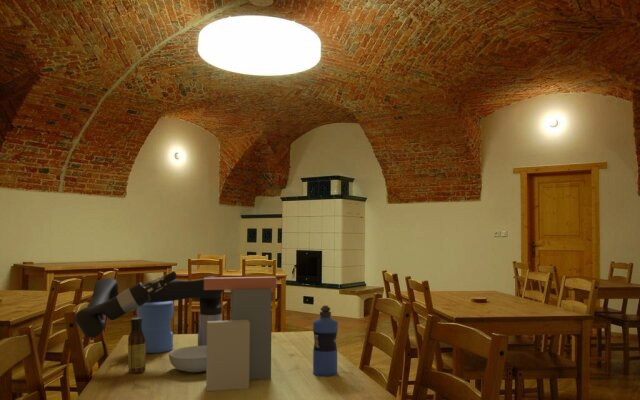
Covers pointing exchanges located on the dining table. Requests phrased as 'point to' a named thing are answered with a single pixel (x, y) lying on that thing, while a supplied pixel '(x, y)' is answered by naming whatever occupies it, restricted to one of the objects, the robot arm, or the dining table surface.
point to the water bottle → (325, 344)
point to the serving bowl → (189, 358)
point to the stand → (240, 342)
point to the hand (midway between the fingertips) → (175, 274)
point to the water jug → (157, 326)
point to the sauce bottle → (136, 347)
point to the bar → (239, 283)
